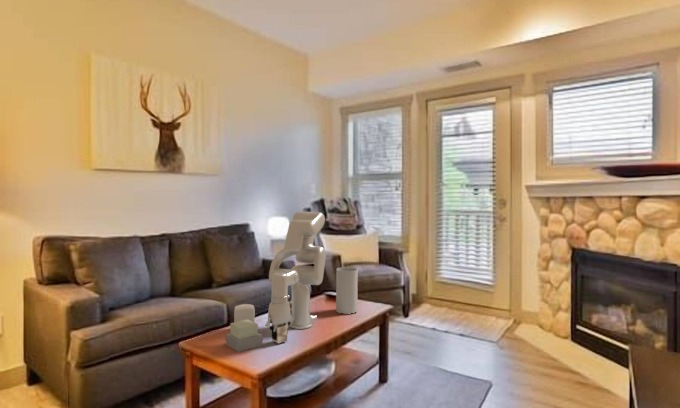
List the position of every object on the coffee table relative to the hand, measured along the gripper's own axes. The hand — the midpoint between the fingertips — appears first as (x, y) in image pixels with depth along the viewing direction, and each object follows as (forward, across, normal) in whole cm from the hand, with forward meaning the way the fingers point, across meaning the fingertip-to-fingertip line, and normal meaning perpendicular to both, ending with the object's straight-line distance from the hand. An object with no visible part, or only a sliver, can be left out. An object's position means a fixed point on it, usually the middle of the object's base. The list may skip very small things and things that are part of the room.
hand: (279, 337), depth 194 cm
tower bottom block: (+3, +14, -8) cm, 16 cm away
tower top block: (-2, +14, -8) cm, 16 cm away
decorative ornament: (+3, -32, -34) cm, 46 cm away
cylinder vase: (+4, -58, -18) cm, 60 cm away
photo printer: (+3, +4, -28) cm, 28 cm away
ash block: (+2, 0, 0) cm, 2 cm away
